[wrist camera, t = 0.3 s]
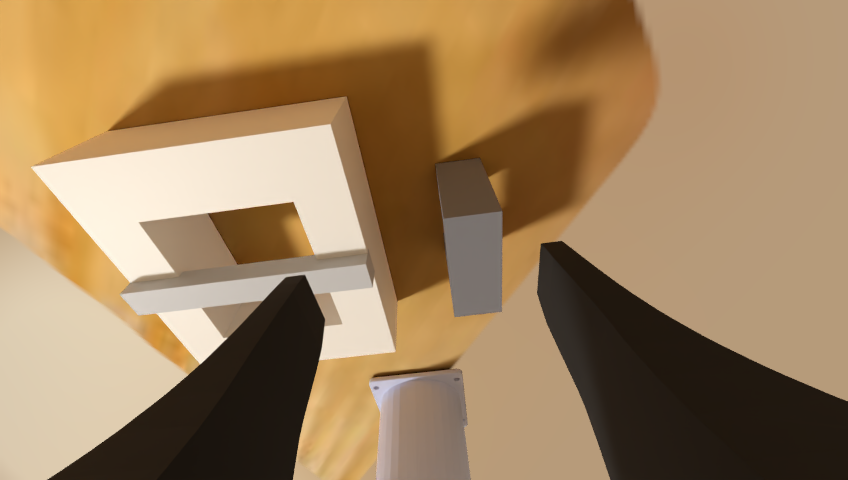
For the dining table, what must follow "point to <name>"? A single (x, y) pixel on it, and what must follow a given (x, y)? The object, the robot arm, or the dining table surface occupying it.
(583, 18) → the dining table surface
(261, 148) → the shallow white tray
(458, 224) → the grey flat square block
